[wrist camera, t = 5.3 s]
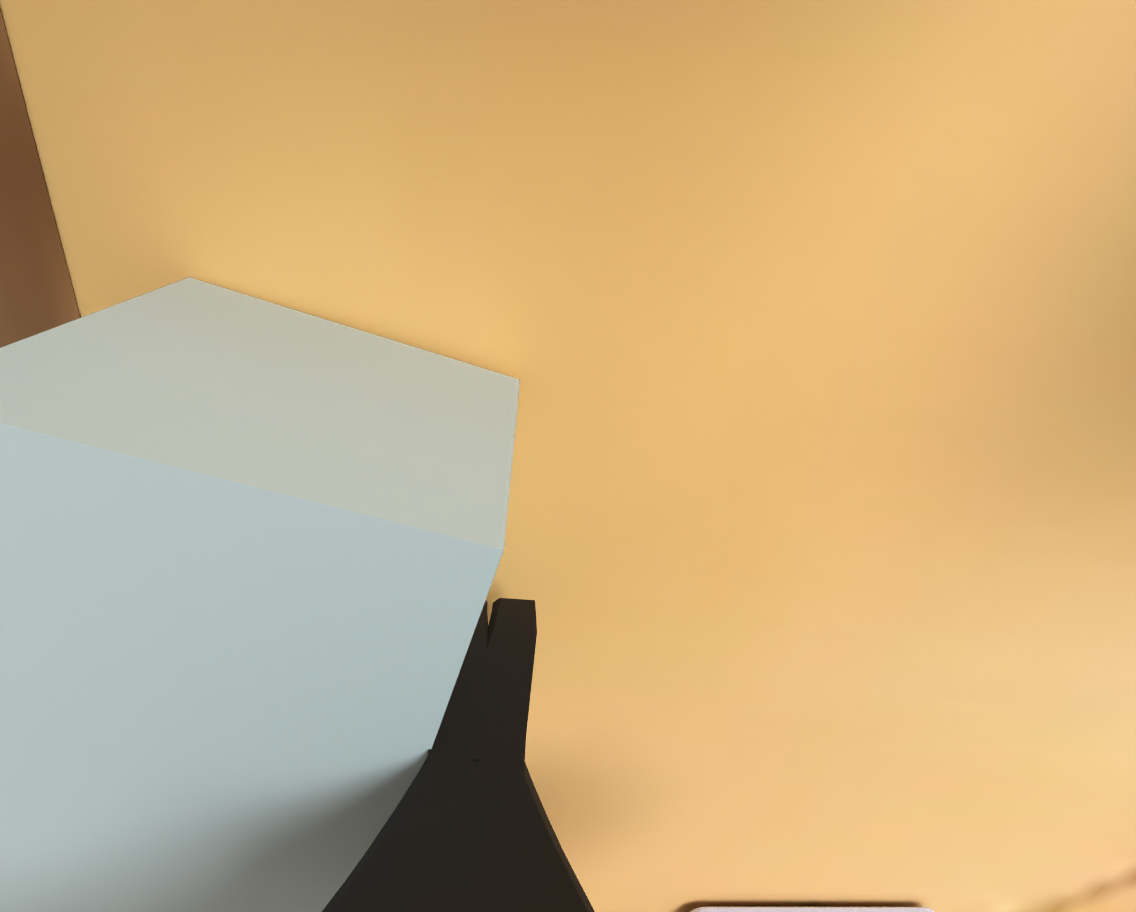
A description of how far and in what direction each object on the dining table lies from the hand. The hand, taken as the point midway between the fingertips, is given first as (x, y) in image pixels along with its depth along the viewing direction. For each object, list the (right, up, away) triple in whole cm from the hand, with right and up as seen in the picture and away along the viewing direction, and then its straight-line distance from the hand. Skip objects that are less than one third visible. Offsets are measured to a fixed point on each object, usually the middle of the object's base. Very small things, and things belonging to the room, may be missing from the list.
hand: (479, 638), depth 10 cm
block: (-3, +2, 0) cm, 3 cm away
